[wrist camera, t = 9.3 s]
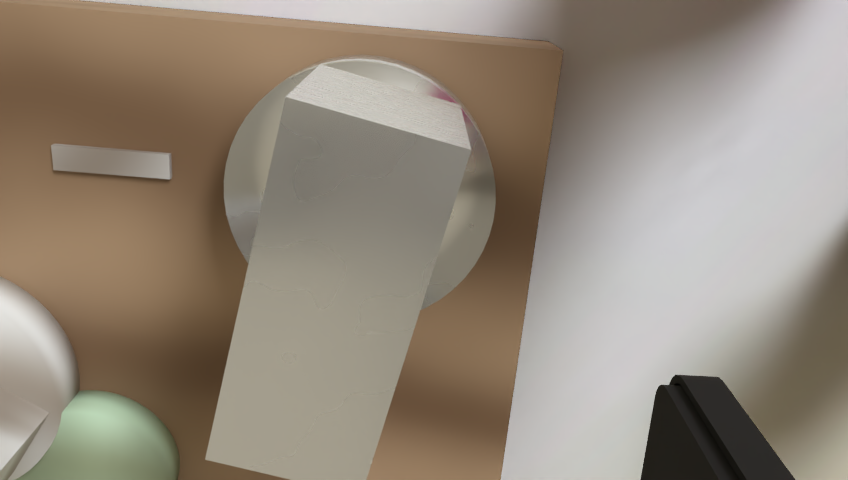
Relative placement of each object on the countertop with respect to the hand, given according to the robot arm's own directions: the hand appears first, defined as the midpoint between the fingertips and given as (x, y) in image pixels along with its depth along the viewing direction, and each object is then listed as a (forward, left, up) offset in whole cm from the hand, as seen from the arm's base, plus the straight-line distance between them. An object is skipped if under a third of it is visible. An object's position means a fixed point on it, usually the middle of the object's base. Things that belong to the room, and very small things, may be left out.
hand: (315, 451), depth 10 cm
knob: (-2, +1, -11) cm, 11 cm away
